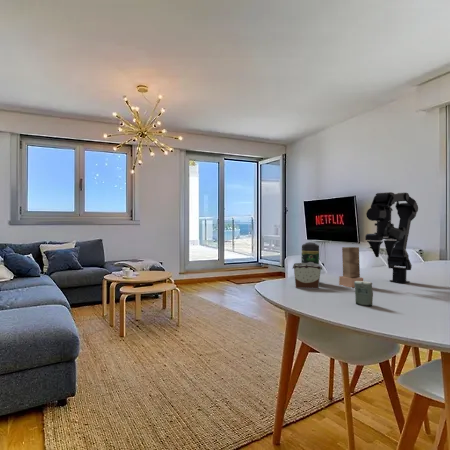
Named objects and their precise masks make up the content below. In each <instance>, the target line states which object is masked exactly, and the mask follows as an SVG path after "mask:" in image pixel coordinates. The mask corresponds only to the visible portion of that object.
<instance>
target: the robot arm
mask: <svg viewBox="0 0 450 450" xmlns="http://www.w3.org/2000/svg"><path fill="white" fill-rule="evenodd" d="M393 205H395V209H396V211H397V215H398V218H399V221H398V227H395V226H394V225H395V224H394V223H392V212H393V211H394V210H393V208H392V206H393ZM418 211H419V206H418V203H417V200H415V199H414V198H413V197H411V196H410V195H409V193H408V192H398V193H394V192H377V193H375V195H374V197H373V200H372V202H371V205H370V207H369V208H368V209H367V210H366V213H365V214H366V218H367V219H368V220H369V221H373V222H375V223H374V227H376V232H374V233H367V234H365V237H364V239H365V241H366V242H367V243H368V244H369V246H370V248H371V250H372V251H373V254H374V256H375V258H379V257H380V251H381V250H380V249H381V245H382V244H383V243H384V246H385V251H386V255H387V266H388V269H392V279H389V280H388V281H389V282H390V283H398V284H407V283H411V281H410V280H407V271H412V266H413V265H412V263H411V261H410V260H411V259H409V257H410V255H409V254H408V251H407V244H408V239H409V235H410V228H411V223H412V221H413V220H414V219H415V217H416V216H417V213H418Z"/></svg>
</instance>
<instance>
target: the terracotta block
mask: <svg viewBox="0 0 450 450" xmlns="http://www.w3.org/2000/svg"><path fill="white" fill-rule="evenodd" d="M338 278H339V280H338V284H339V285H340V286H342V285H343V287H347V288H351V287H352V288H355V285H354V282H355V281H364V277H361V276H360V277H354V278H349V277H344V276H343V275H342V276H339V277H338Z"/></svg>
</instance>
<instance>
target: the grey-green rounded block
mask: <svg viewBox="0 0 450 450" xmlns="http://www.w3.org/2000/svg"><path fill="white" fill-rule="evenodd" d="M354 285H355V287H354V295H355V296H354V297H355V305H357V306H363V307H365V306H366V307H373V303H374V302H373V300H374V291H373V290H374V289H373V288H374V287H373V283H372V282H370V281H364V280H363V281H355V282H354Z"/></svg>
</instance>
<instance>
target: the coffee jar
mask: <svg viewBox="0 0 450 450" xmlns="http://www.w3.org/2000/svg"><path fill="white" fill-rule="evenodd" d="M300 256H301V259H300V261H301V262H300V263H314V264H320V245H319V244H317V243H316V242H312V241H311V242H305V243H303V244H301V255H300Z"/></svg>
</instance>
